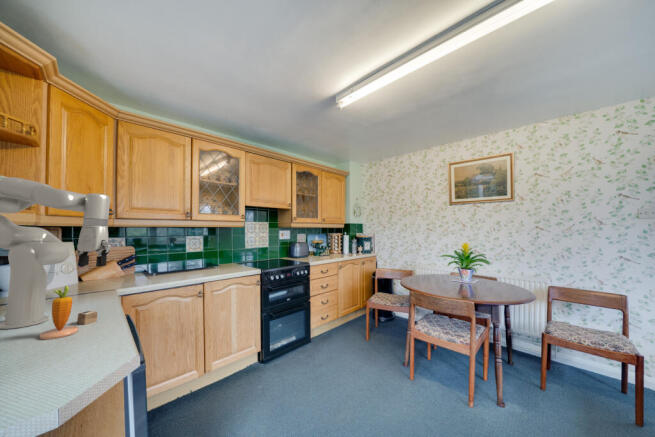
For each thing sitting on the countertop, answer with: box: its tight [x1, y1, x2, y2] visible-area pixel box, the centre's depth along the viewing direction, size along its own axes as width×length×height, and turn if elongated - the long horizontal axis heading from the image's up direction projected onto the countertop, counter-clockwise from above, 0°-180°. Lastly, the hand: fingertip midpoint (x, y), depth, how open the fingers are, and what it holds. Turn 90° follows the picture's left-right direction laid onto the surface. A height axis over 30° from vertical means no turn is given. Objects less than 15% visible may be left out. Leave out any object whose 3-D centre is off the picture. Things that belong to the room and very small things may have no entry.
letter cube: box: [76, 310, 98, 326], centre depth 96 cm, size 4×4×4 cm
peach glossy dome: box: [39, 325, 79, 341], centre depth 85 cm, size 9×9×1 cm
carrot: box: [51, 286, 73, 331], centre depth 85 cm, size 5×5×15 cm
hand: (92, 265), depth 98 cm, fingers open, 9 cm apart
